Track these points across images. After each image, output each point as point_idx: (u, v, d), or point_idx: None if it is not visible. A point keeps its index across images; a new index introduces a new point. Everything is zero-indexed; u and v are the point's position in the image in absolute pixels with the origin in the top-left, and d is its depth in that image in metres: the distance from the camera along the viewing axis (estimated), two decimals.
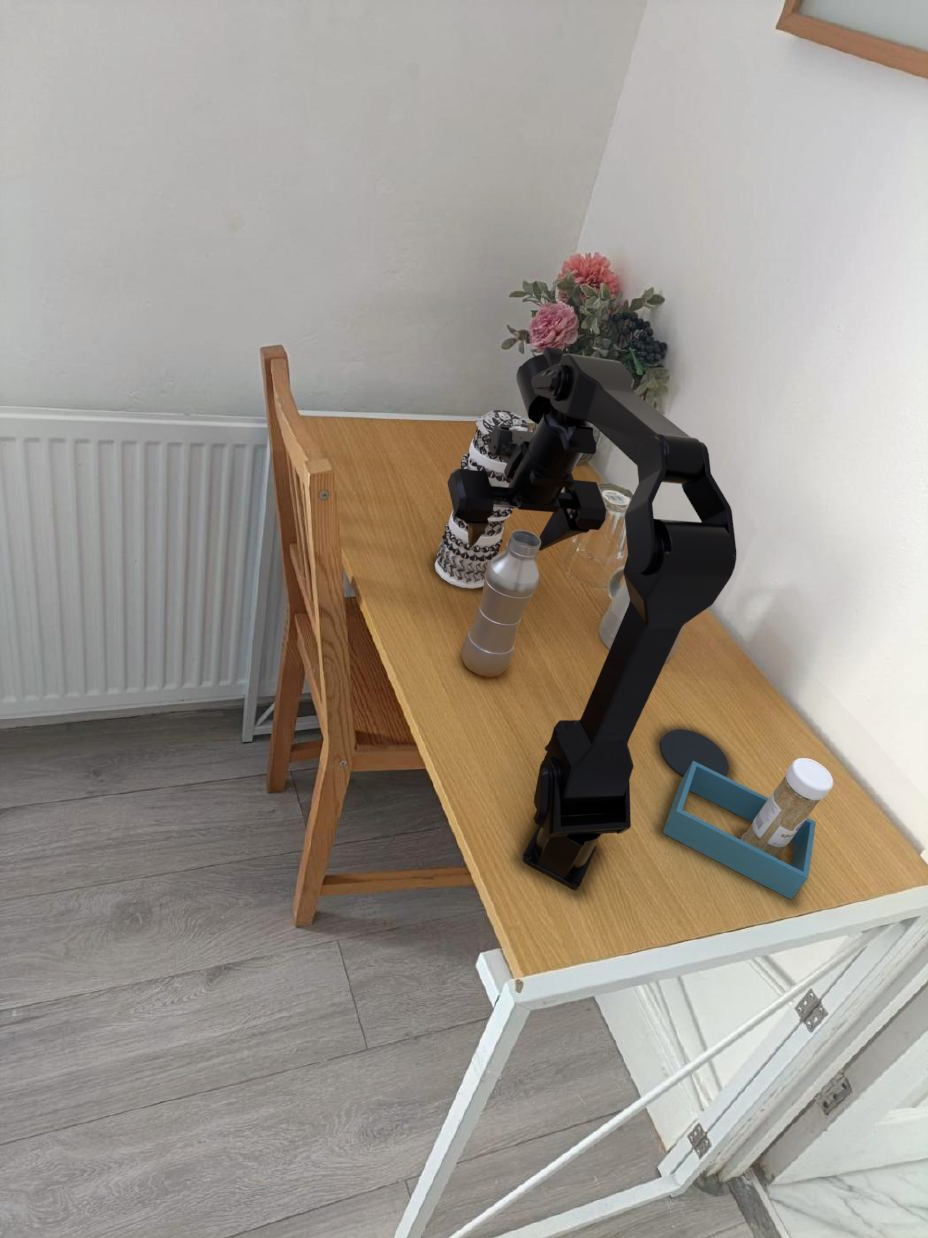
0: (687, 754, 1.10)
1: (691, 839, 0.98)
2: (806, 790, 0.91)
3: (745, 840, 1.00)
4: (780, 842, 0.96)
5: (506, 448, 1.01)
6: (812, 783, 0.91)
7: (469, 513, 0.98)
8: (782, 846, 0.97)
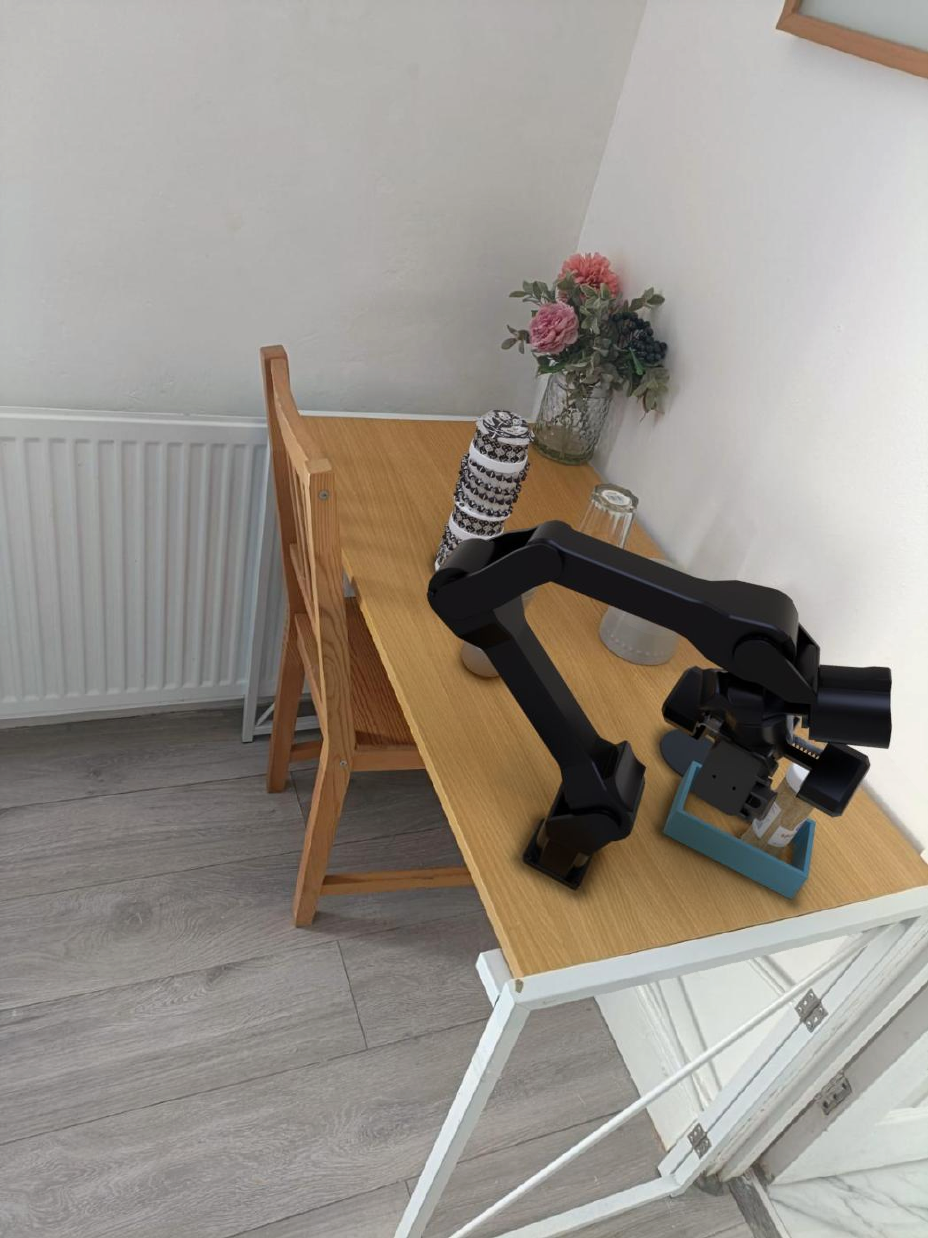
0: (687, 754, 1.10)
1: (691, 839, 0.98)
2: None
3: (745, 840, 1.00)
4: (780, 842, 0.96)
5: (768, 783, 0.78)
6: None
7: None
8: (782, 846, 0.97)
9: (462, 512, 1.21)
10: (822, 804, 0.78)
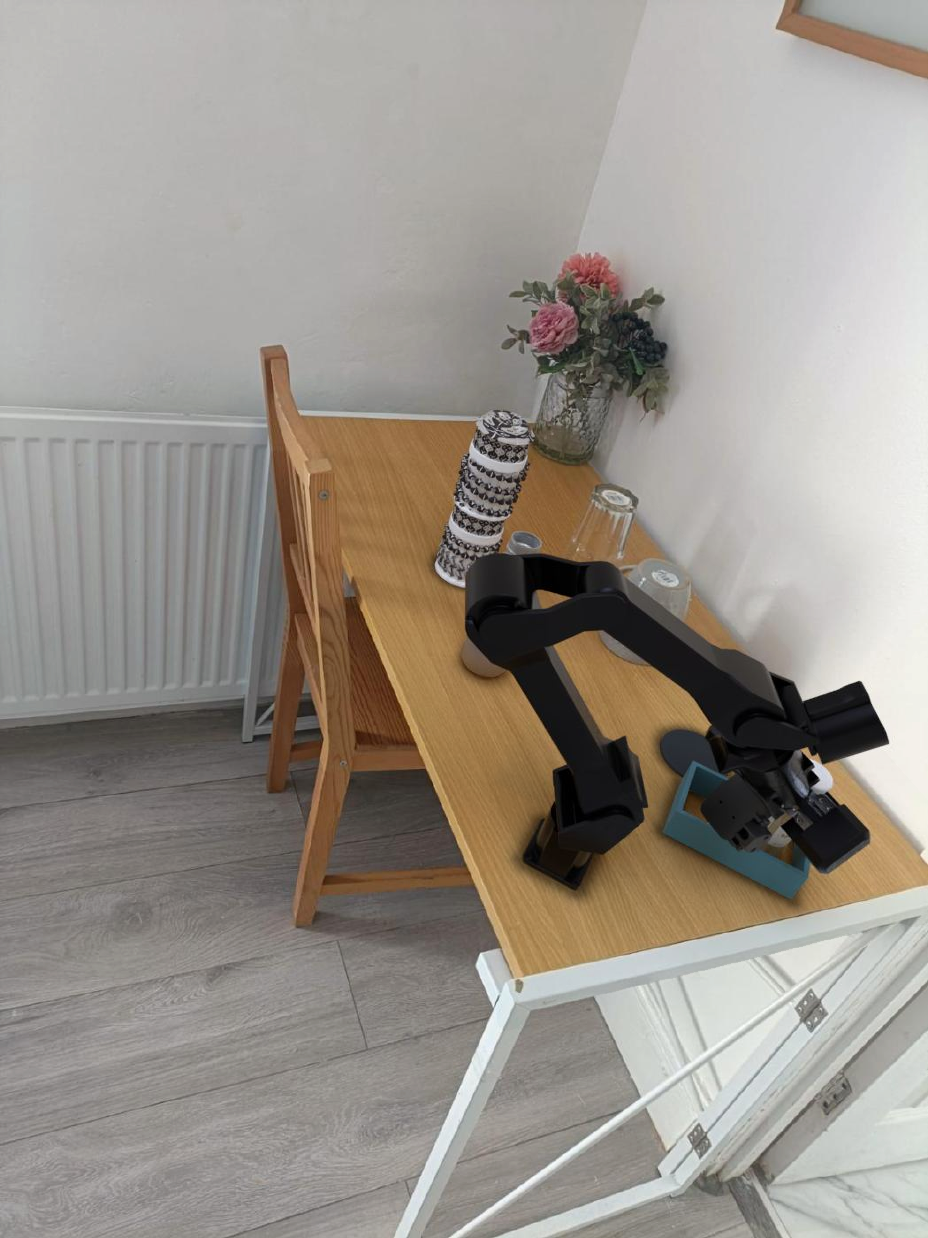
0: (687, 754, 1.10)
1: (691, 839, 0.98)
2: None
3: None
4: (780, 842, 0.96)
5: (764, 822, 0.86)
6: None
7: None
8: (782, 846, 0.97)
9: (462, 512, 1.21)
10: (810, 858, 0.85)
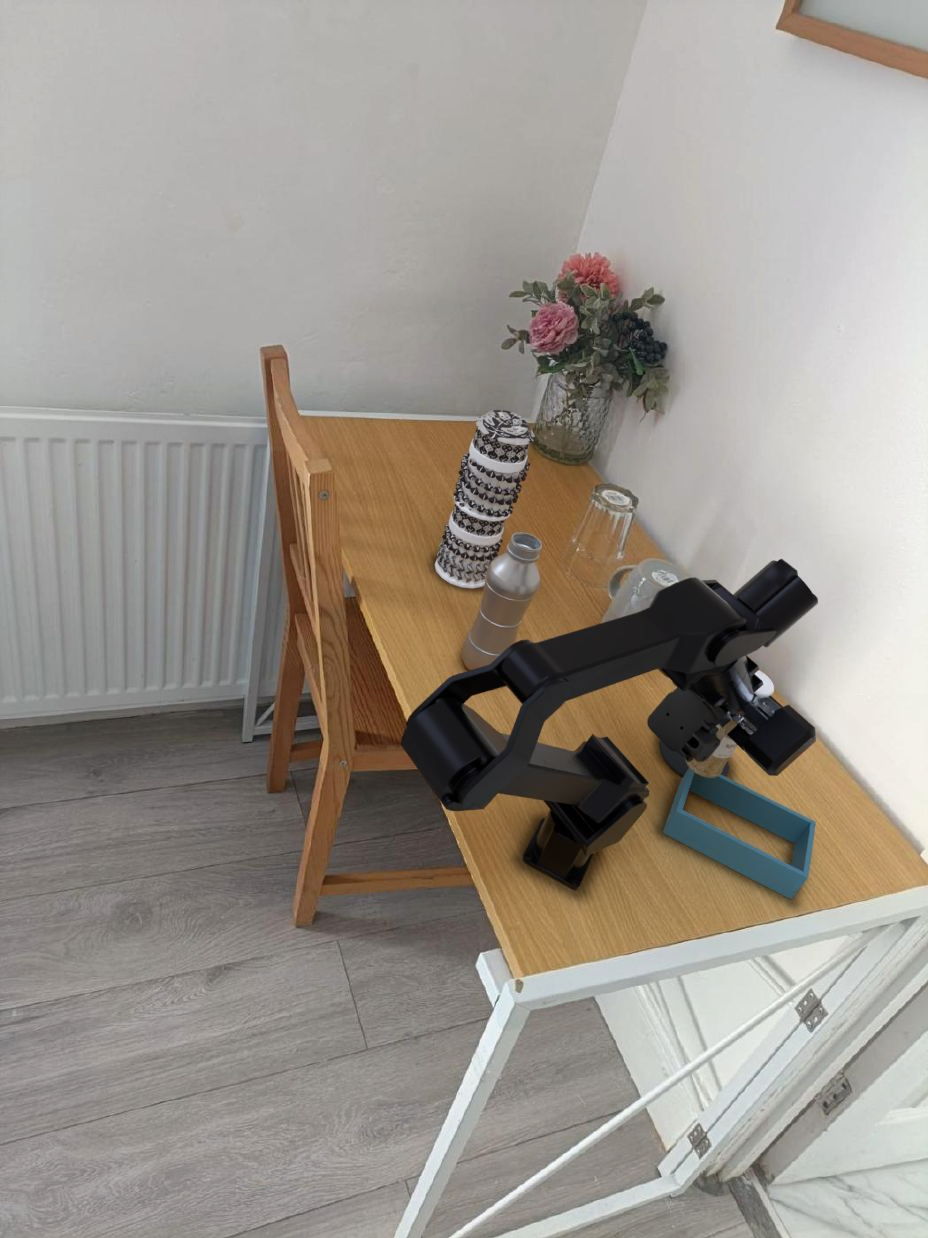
0: None
1: (691, 839, 0.98)
2: None
3: None
4: (725, 753, 0.96)
5: (712, 730, 0.85)
6: None
7: None
8: (727, 757, 0.97)
9: (462, 512, 1.21)
10: (759, 760, 0.85)
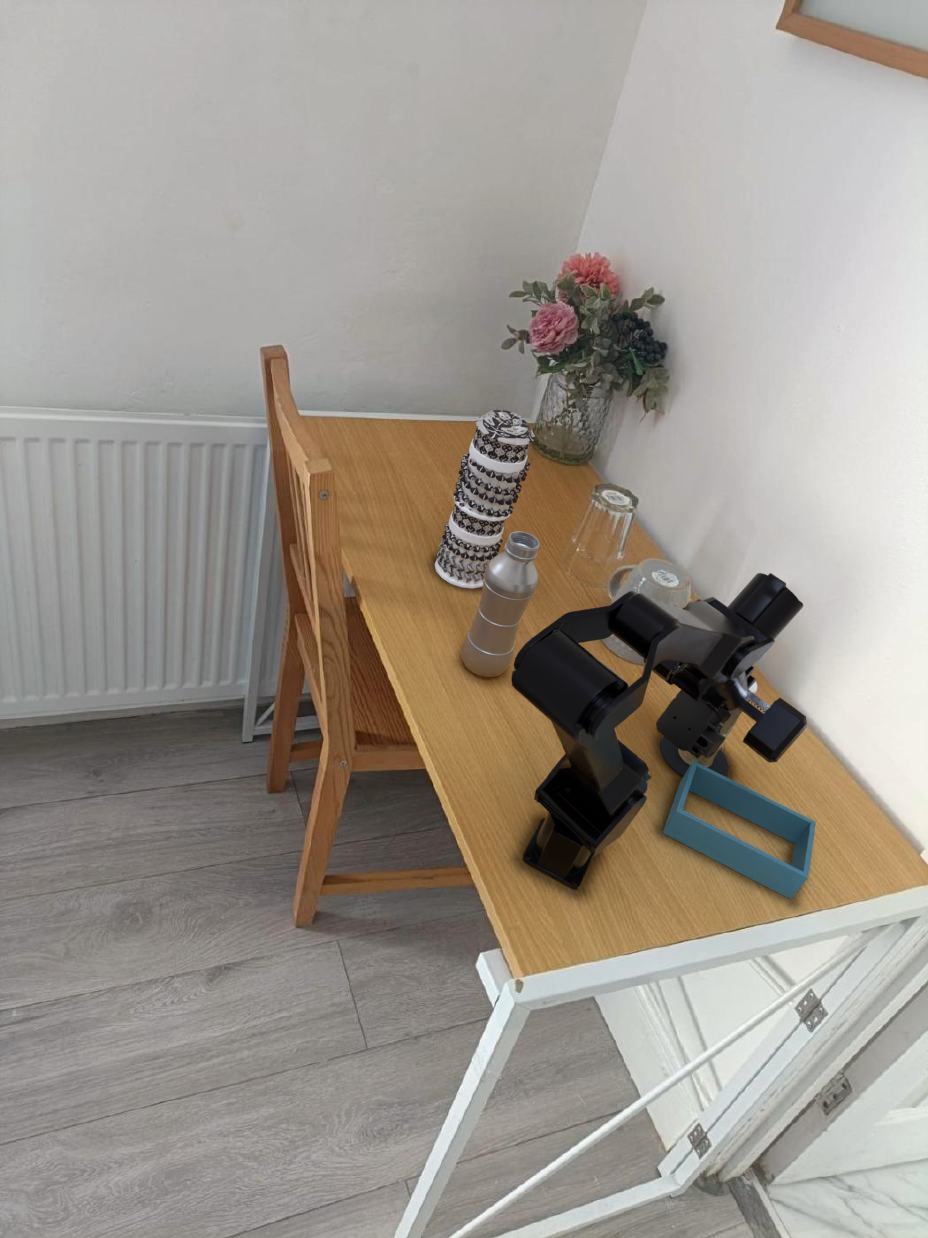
0: None
1: (691, 839, 0.98)
2: None
3: None
4: None
5: (717, 728, 0.94)
6: None
7: None
8: (718, 749, 1.07)
9: (462, 512, 1.21)
10: (760, 751, 0.95)
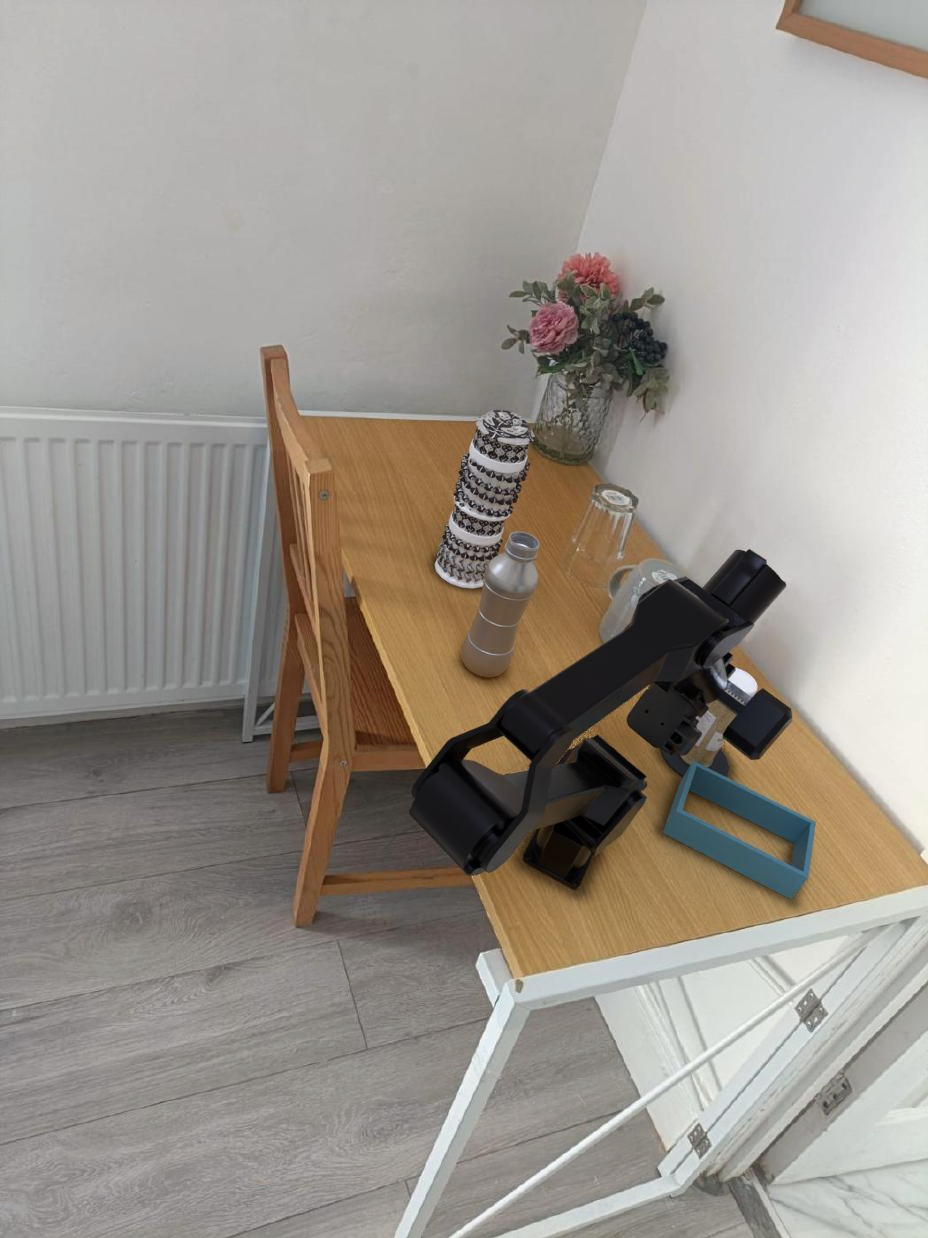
0: None
1: (691, 839, 0.98)
2: (737, 696, 1.01)
3: None
4: (716, 746, 1.06)
5: (693, 723, 0.85)
6: (742, 689, 1.01)
7: None
8: (718, 749, 1.07)
9: (462, 512, 1.21)
10: (741, 747, 0.86)
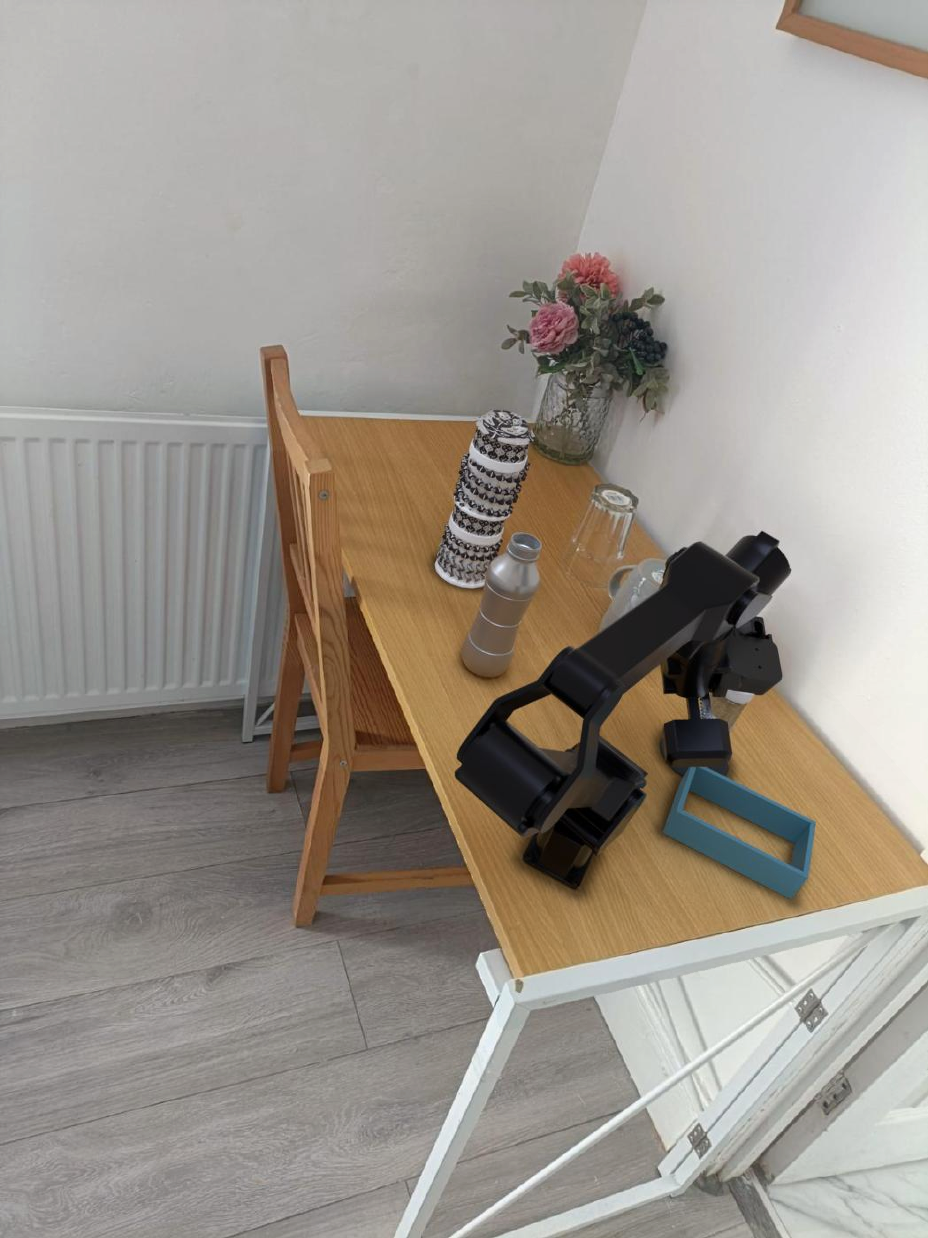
0: None
1: (691, 839, 0.98)
2: (737, 696, 1.01)
3: None
4: None
5: (732, 630, 0.88)
6: None
7: None
8: None
9: (462, 512, 1.21)
10: None
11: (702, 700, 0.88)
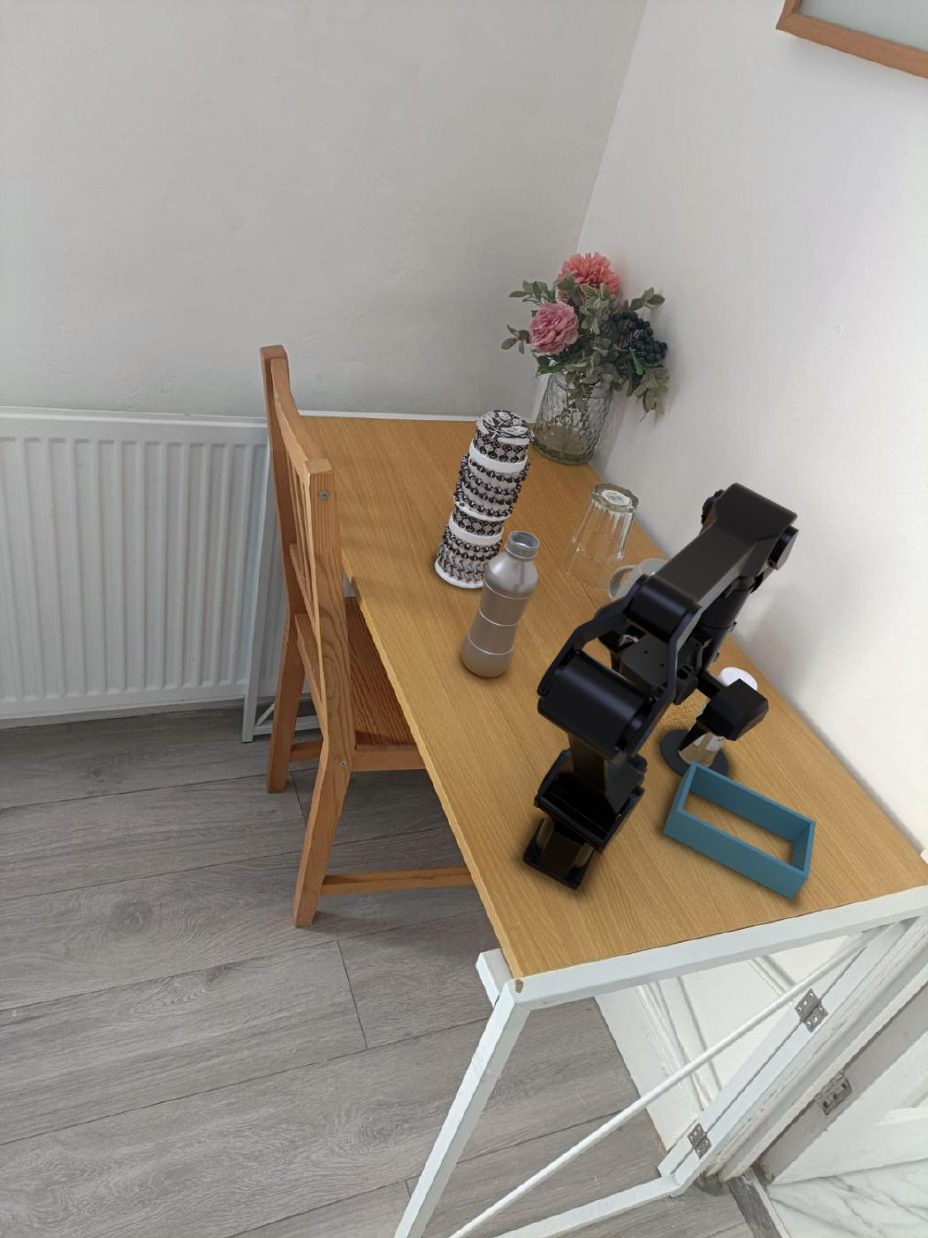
0: None
1: (691, 839, 0.98)
2: None
3: (683, 750, 1.08)
4: (716, 746, 1.06)
5: (692, 672, 0.82)
6: None
7: None
8: (718, 749, 1.07)
9: (462, 512, 1.21)
10: (727, 717, 0.82)
11: None
